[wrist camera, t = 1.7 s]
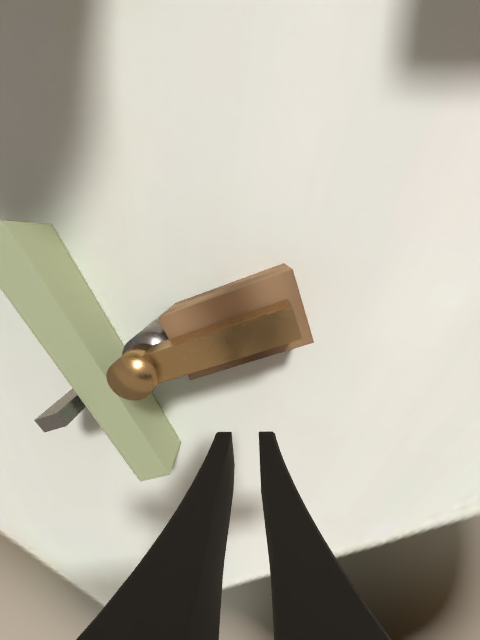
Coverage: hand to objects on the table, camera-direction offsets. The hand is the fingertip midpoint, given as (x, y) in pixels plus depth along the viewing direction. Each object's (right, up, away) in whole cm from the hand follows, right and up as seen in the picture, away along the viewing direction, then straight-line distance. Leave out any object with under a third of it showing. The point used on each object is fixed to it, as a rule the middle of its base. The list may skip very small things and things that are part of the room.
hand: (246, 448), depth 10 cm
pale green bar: (-12, +3, +10) cm, 15 cm away
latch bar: (-3, +4, +4) cm, 7 cm away
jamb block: (0, +6, +8) cm, 10 cm away
